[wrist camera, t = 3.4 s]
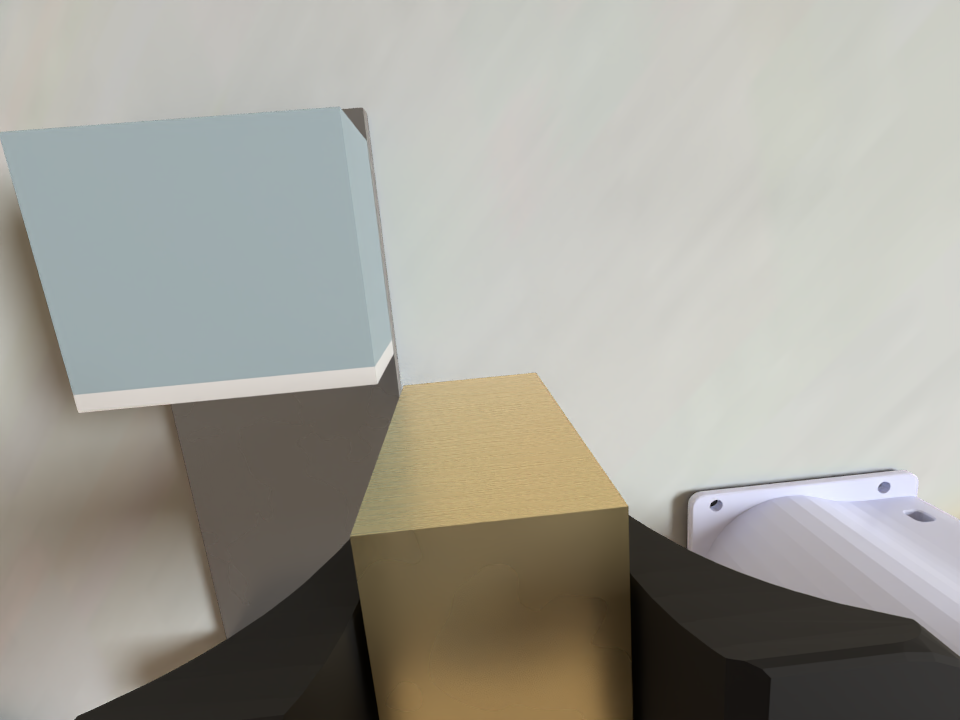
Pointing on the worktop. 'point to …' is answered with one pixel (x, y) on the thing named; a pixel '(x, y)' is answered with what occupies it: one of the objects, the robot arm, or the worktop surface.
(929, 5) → the worktop surface
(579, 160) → the worktop surface
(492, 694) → the brass block
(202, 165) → the block
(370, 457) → the base
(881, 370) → the worktop surface
